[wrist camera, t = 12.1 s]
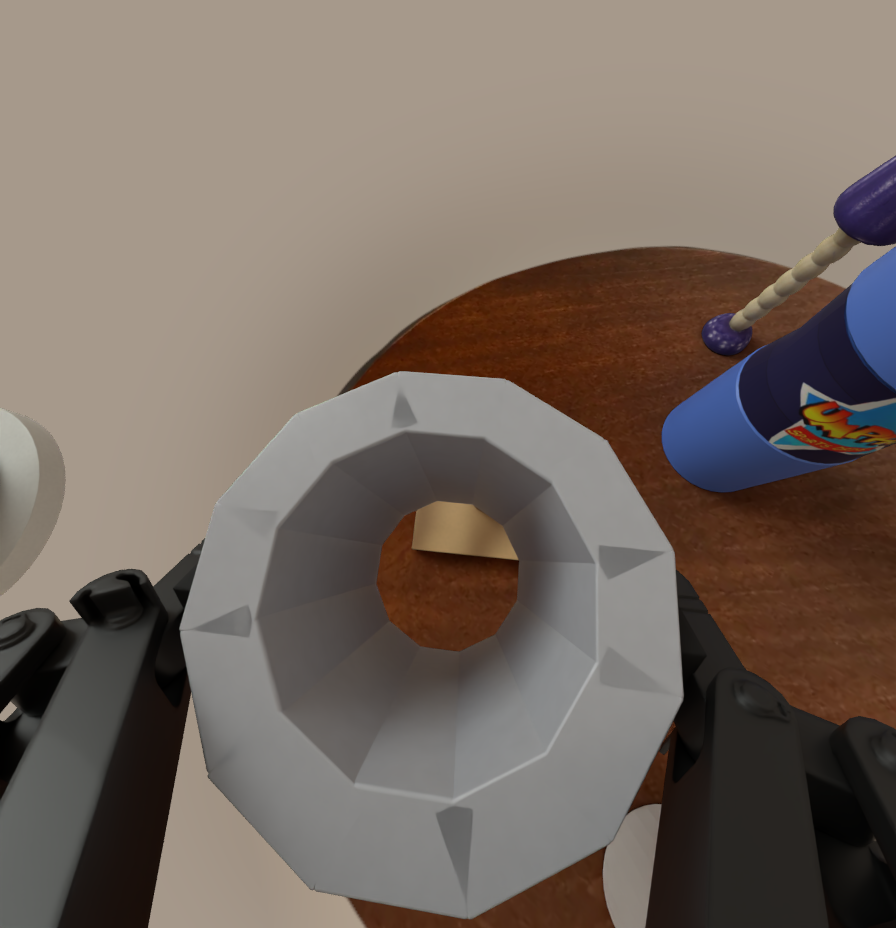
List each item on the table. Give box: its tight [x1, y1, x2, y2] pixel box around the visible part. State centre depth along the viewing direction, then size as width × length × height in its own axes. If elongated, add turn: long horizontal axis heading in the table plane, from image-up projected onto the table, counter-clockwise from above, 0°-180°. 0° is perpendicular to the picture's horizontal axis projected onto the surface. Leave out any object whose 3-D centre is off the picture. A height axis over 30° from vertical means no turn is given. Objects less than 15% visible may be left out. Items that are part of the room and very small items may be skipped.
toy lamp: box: [702, 156, 896, 355], centre depth 26 cm, size 5×5×17 cm
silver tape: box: [179, 371, 684, 919], centre depth 12 cm, size 10×10×10 cm
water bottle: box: [662, 247, 896, 492], centre depth 19 cm, size 9×9×25 cm
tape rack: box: [412, 501, 519, 560], centre depth 26 cm, size 12×10×10 cm
